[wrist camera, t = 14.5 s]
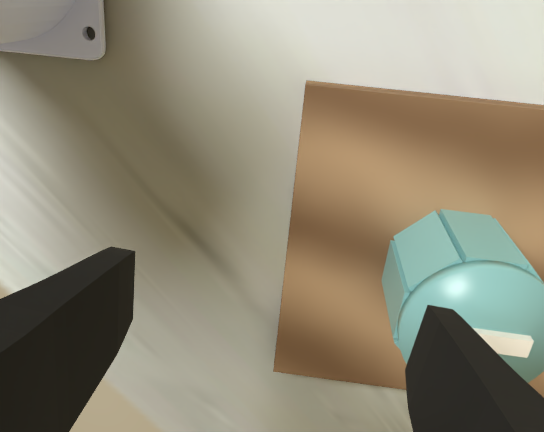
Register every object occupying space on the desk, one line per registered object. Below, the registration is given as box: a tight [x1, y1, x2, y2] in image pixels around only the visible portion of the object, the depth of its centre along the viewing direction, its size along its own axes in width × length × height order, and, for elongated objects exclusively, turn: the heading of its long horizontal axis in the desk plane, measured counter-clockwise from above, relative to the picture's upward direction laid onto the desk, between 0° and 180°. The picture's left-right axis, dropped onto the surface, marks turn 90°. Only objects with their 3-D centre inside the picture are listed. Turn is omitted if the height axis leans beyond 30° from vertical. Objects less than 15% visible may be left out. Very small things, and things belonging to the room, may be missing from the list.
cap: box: [381, 209, 544, 383], centre depth 19 cm, size 5×5×5 cm
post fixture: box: [273, 81, 544, 397], centre depth 20 cm, size 14×14×4 cm
